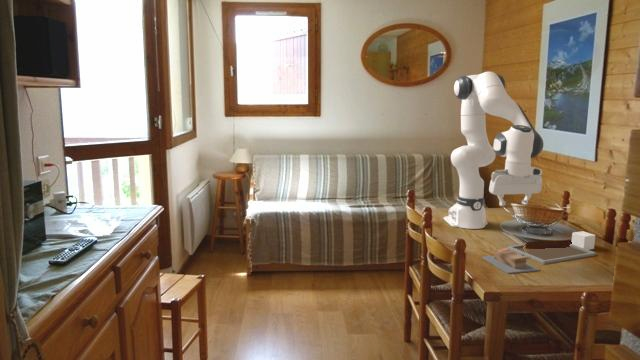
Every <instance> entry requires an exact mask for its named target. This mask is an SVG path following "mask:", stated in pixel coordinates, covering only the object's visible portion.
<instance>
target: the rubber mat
mask: <svg viewBox="0 0 640 360" xmlns="http://www.w3.org/2000/svg"><path fill="white" fill-rule="evenodd" d="M494 257H495V255H488V256H487V255H486V256H485V255H484V256H481V259H483V261H486V262H487V263H489V264H491V265H493V266H495V268H498V269H499V270H501V271H502V272H503V273H506V274H508V275H511V274H521V273H531V272H539V271H541V269H540V268H538V267H536V266H534V265H532V264H531V263H529V262H527V261H526V267H522V268H516V269H514V268H512V267H510V266H508V265H506V264H504V263H502V262H500V261H498V260H496V259H494Z"/></svg>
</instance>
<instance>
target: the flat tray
mask: <svg viewBox="0 0 640 360" xmlns="http://www.w3.org/2000/svg"><path fill="white" fill-rule="evenodd" d="M525 244H526V243H524V244H517V245H510V246H507V247H506V248H507V249H509V250H511V251H514V252H516V253H517V254H519V255H522V256H524V257H526V259H528V258H530V260H532V259H533V260H532V261H534V260H535V261H534V262H537V263H539V264H542V265H546V264H547V265H548V264H554V263H559V262H565V261H571V260H577V259H581V258H582V259H583V258H588V257H594V256H597V252H595V251H593V250H591V249H590V250H587V249H584V248H581V247H578V246H575V245H572V244H571V243H570V245H569V246H570V247H566V248H545V249H528V250H529V251H528V250H527V252H528V253H527V252H526V253H525V251H526V250H525V251H524V249H523V247H524V246H525ZM516 248H517V249H516Z"/></svg>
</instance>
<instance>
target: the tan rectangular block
mask: <svg viewBox="0 0 640 360" xmlns="http://www.w3.org/2000/svg"><path fill="white" fill-rule="evenodd" d="M494 256H495V257H494V259H496V260H498V261H500V262H502V263H504V264H506V265H508V266H510V267H512V268H514V269H516V268H522V267H526V262H527V258H526V257H524V256H522V255H519V254H518V253H515V252H513V251H510V250H509V249H507V247H505V248H498V249H494Z"/></svg>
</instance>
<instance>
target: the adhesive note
mask: <svg viewBox="0 0 640 360" xmlns="http://www.w3.org/2000/svg"><path fill="white" fill-rule="evenodd" d="M571 242H572V245H575V246H578V247H581V248H584V249H587V250H590V251H591V250H595V242H596V234H594V233H590V232H586V231H583V230H582V231H574V232H572V233H571Z"/></svg>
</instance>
